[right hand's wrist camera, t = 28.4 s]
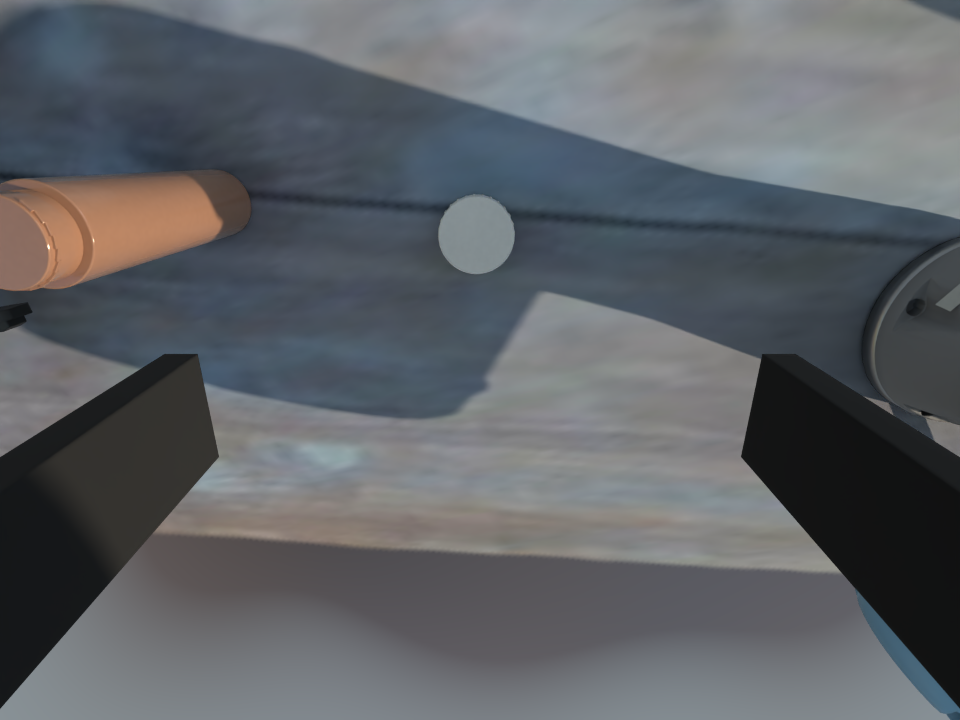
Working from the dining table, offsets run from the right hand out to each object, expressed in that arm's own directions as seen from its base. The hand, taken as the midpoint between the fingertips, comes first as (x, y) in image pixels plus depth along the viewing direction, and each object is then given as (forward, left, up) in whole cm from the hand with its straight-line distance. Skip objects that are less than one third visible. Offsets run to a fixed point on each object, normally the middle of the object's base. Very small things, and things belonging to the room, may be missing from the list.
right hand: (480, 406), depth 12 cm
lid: (0, 0, -28) cm, 28 cm away
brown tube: (+10, +17, -30) cm, 36 cm away
